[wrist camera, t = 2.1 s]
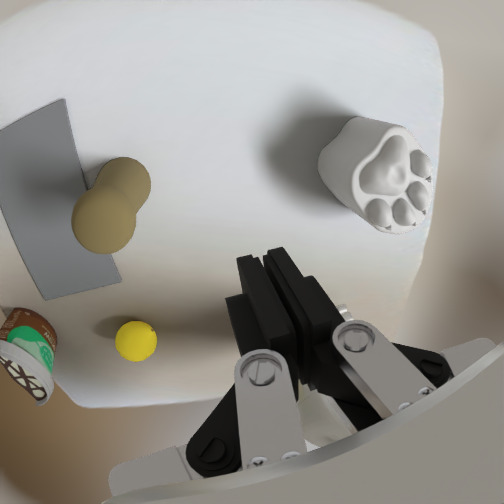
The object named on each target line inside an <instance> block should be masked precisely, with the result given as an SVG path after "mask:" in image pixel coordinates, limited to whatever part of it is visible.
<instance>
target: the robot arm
mask: <svg viewBox="0 0 504 504" xmlns="http://www.w3.org/2000/svg"><path fill="white" fill-rule="evenodd" d="M263 263H264V267H263V265H262V263H261V261H260V259H259V258H258V257H255V258H253V256H252V255H247V256H242V257H238V258H237V265H238V271H239V276H240V281H241V286H242V292H243V294H240V295H236V296H232V297H228V298H225V300H226V304H227V308H228V312H229V316H230V320H231V323H232V327H233V331H234V334H235V338H236V341H237V345H238V348H239V352H240V355H241V358H240V359H239V360H238V362H237V364H236V366H235V371H234V378H235V383H234V384H233V386H232V387H231V388H230V390H229V391H228V392H227V394H226V395H225V396H224V398H223V399H222V400H221V401H220V403H219V404H218V405H217V407H216V408H215V409H214V410H213V412H212V413H211V414H210V416H209V417H208V418H207V419H206V421H205V422H204V423H203V424H202V426H201V427H200V428H199V429H198V431H197V432H196V433H195V434H194V435H193V437H192V438H191V439H190V441H189V443H188V444H185V445H183V446H180V447H176V446H173V447H170V448H167V449H165V450H162V451H159V452H156V453H153V454H150V455H147V456H144V457H141V458H137V459H134V460H131V461H127V462H124V463H120V464H119V465H116V466H115V467H114V468H113V469H112V470H111V472H110V474H109V477H108V479H109V487H110V490H111V493H112V496H113V497H112V498H110V499H108V500H106V501H104V502H102V503H101V504H504V342H503V343H501V344H499V345H498V346H496V345H495V344H494V343H493V342H492V341H491V340H489V339H487V338H478V339H475V340H472V341H469V342H467V343H463V344H461V345H457V346H455V347H452V348H448V349H445V350H442V351H441V353H440V354H438V353H435V352H432V351H427V350H422V349H418V348H413V347H409V346H405V345H400V344H396V343H392V342H390V341H389V340H388V339H387V338H386V337H385V336H384V335H383V334H382V333H381V332H380V331H379V330H378V329H376V328H375V327H374V326H373V325H371V324H370V323H368V322H365V321H361V320H353V317H352V315H351V313H350V312H347V308H346V305H345V304H341V305H338V306H336V307H335V305H334V304H333V302H332V301H331V300H330V298H329V297H328V295H327V294H326V293H325V291H324V290H323V288H322V287H321V286H320V284H319V283H318V282H317V280H316V279H315V278H314V277H313V276H307V277H303V275H302V274H301V272H300V271H299V269H298V268H297V267H296V265H295V264H294V262H293V261H292V259H291V258H290V256H289V255H288V253H287V252H286V251H285V249H284V248H283V247H279V248H275V249H271V250H268V251H267V255H263ZM304 439H305V440H307V441H308V442H310V443H311V444H314V445H316V446H318V447H321V448H318V449H315V450H312V451H310V452H307V448H306V444H305V440H304Z"/></svg>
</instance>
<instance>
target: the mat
mask: <svg viewBox="0 0 504 504" xmlns="http://www.w3.org/2000/svg"><path fill="white" fill-rule="evenodd" d="M86 191H88V189H87V186H86V183H85V180H84V176H83V173H82V169H81V166H80V162H79V158H78V155H77V151H76V147H75V143H74V139H73V135H72V130H71V126H70V121H69V117H68V112H67V107H66V101H65V99H62V100H59V101H57V102H55V103H53V104H51V105H48V106H46V107H44V108H42V109H40V110H38V111H36V112H34V113H32V114H30V115H28V116H26V117H24V118H22V119H21V120H19V121H17V122H15V123H13V124H12V125H10V126H8V127H6V128H5V129H3V130H1V131H0V206H1V208H2V211H3V214H4V216H5V219H6V222H7V224H8V226H9V229H10V231H11V234H12V236H13V238H14V241H15V243H16V245H17V247H18V249H19V252H20V254H21V256H22V258H23V260H24V262H25V264H26V266H27V268H28V270H29V272H30V274H31V276H32V278H33V279H34V281H35V283H36V285H37V287H38V289H39V290H40V292H41V294H42V296H43V297H44V299H45V301H46V300H50V299H54V298H58V297H62V296H66V295H70V294H74V293H78V292H83V291H87V290H91V289H95V288H99V287H103V286H107V285H111V284H115V283H120V282H121V277H120V275H119V273H118V270H117V268H116V266H115V263H114V261H113V258H112V256H111V254H96V253H93V252H90V251H88V250H87V249H85V248H84V247H83V246H82V245H81V244H80V243H79V242H78V241H77V239H76V238H75V236H74V233H73V231H72V226H71V216H72V212H73V208H74V205H75V204H76V202H77V200H78V199H79V197H80V196H81V195H83V194H84V193H85V192H86Z"/></svg>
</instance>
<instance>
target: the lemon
mask: <svg viewBox="0 0 504 504" xmlns="http://www.w3.org/2000/svg"><path fill="white" fill-rule="evenodd" d="M115 344H116V349H117V350H118V351H119V353H120V355H121V356H122V357H123V358H125V359H127V360H130V361H134V362H138V361H142V360H145V359H146V358H148V357H149V356H150V355H151V354H153V352H154V350H155V348H156V346H157V336H156V333H155V331H154V330H153V328H152V327H151V326H150V325H149V324H147V323H144V322H142V321H130V322H128V323H126V324H124V325H122V327H121V328H120V329H119V330H118V332H117V335H116V338H115Z"/></svg>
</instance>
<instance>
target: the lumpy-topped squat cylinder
mask: <svg viewBox="0 0 504 504" xmlns="http://www.w3.org/2000/svg"><path fill="white" fill-rule="evenodd" d="M318 172H319V175H320V177H321V179H322V181H323V182H324V183H325V185H326V186H327V187H328V188H329V190H330V191H331V192H332V193H333V194H334V196H335V197H336V198H337V199H338V200H339V201H341V202H342V203H343V204H344V205H345V206H346V207H348V208H349V209H351V210H352V211H353V212H355V213H356V214H357V215H359V216H360V217H361V218H363V219H364V220H365V221H367V222H368V223H369V224H371V225H372V226H373V227H375V228H376V229H377V230H379V231H381V232H385V233H391V234H402V233H406V232H409V231H411V230H413V229H415V228H416V227H418V226H419V225H420V224H421V222H422V221H423V220H424V218H425V216H426V214H427V212H428V209H429V206H430V203H431V199H432V193H433V177H432V163H431V161H430V159H429V158H428V156H427V155H426V154H425V153H424V151H423V149H422V147H421V146H420V144H419V143H418V142H417V140H416V139H415V137H414V136H413V135H412V133H411V132H410V131H409V130H408V129H406V128H405V127H403V126H400V125H395V124H391V123H387V122H383V121H378V120H374V119H369V118H364V117H354V118H352V119H350V120H349V121H348V122H347V123H346V124H345V125H344V127H343V128H342V130H341V132H340V133H339V134H338V136H337V137H336V138H335V139H334V140H333V141H331V142H330V143H329V144H328V145H326V146H325V147H324V148H323V150H322V151H321V152H320V154H319V157H318Z"/></svg>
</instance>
